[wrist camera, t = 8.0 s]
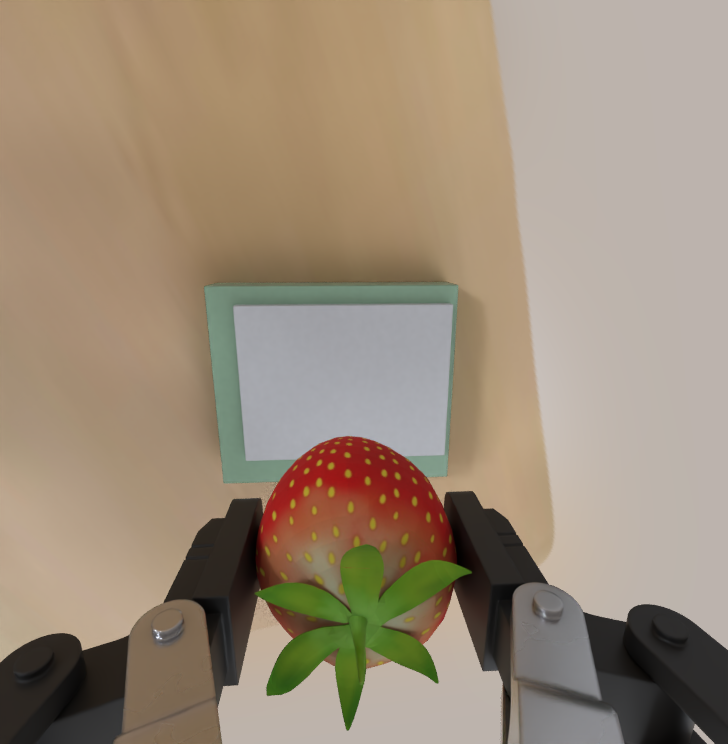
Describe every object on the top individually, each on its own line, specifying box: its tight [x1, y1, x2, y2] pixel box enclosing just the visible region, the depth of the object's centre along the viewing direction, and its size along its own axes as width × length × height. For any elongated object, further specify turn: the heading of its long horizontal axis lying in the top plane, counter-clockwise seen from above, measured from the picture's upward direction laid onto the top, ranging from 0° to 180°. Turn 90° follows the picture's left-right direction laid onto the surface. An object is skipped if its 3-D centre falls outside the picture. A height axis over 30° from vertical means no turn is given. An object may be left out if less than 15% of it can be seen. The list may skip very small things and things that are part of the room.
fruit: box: [255, 436, 472, 730], centre depth 11 cm, size 5×5×8 cm
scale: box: [204, 282, 458, 483], centre depth 26 cm, size 14×12×3 cm
